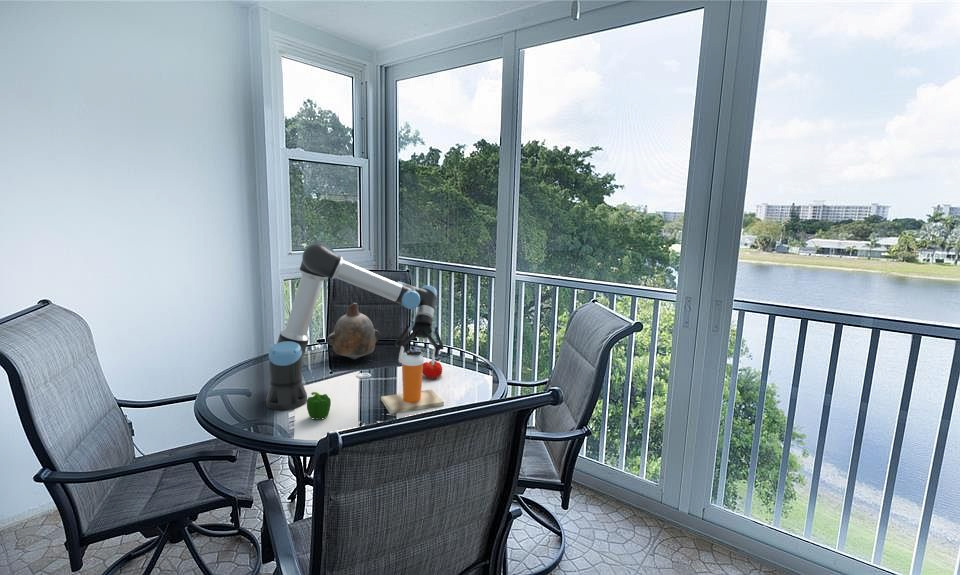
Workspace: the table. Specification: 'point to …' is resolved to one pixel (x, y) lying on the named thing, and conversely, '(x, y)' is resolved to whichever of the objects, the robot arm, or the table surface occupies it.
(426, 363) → the tomato
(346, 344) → the jug
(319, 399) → the bell pepper
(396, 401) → the oak board
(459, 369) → the table surface
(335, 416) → the table surface
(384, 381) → the table surface
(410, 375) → the shaker bottle
